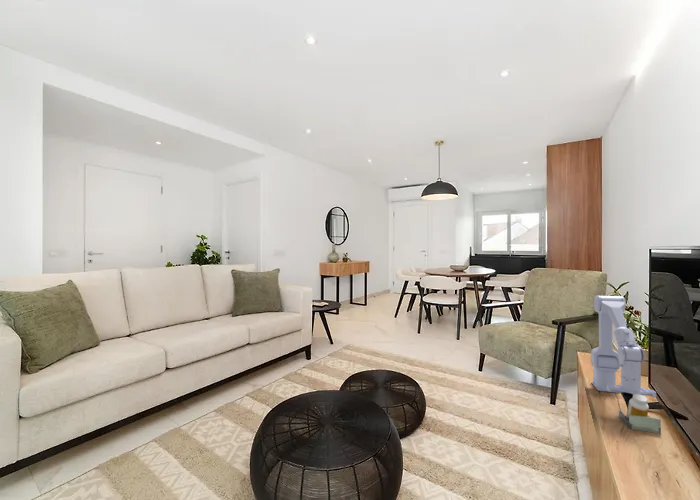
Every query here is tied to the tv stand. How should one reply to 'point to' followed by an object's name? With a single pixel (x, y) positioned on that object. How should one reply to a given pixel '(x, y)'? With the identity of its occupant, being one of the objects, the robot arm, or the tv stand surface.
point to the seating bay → (642, 423)
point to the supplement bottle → (638, 406)
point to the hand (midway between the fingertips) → (631, 412)
